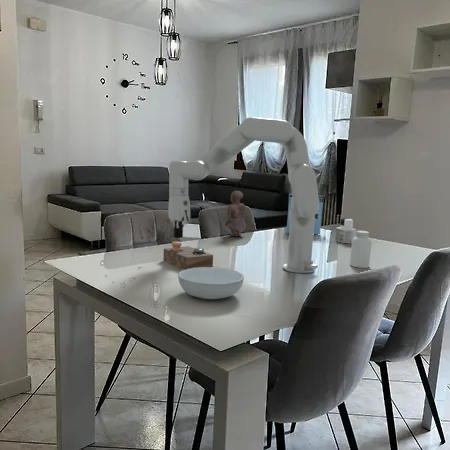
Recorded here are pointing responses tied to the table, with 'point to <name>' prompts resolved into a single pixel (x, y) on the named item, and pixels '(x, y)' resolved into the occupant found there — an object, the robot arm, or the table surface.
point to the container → (345, 231)
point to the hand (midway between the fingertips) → (178, 237)
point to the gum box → (316, 217)
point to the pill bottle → (360, 250)
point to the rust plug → (176, 246)
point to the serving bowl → (210, 282)
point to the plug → (198, 251)
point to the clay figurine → (236, 214)
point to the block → (187, 258)
